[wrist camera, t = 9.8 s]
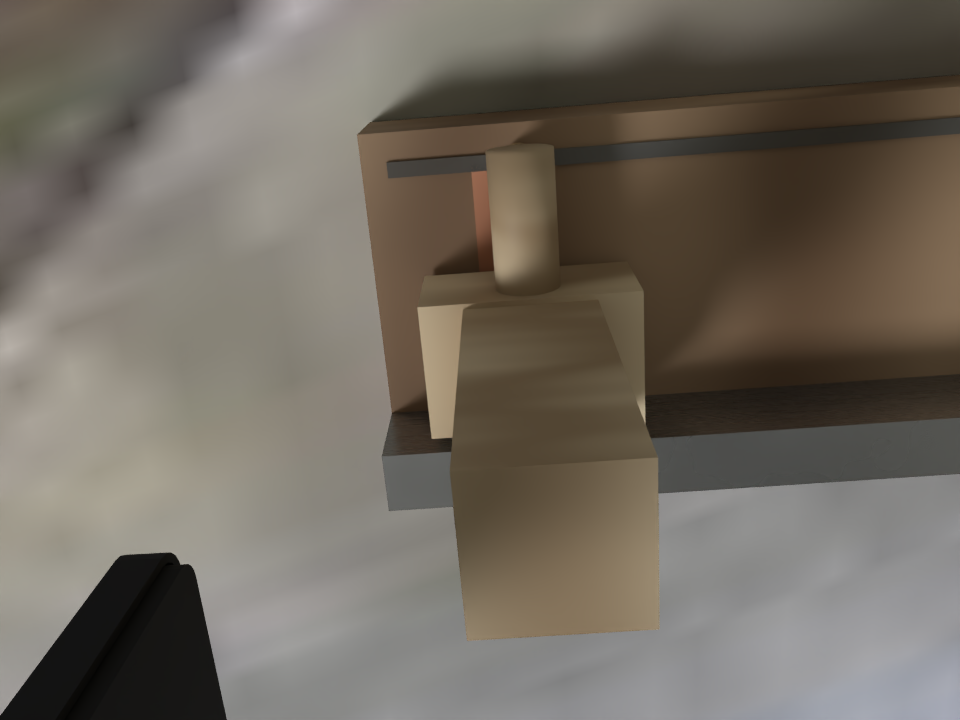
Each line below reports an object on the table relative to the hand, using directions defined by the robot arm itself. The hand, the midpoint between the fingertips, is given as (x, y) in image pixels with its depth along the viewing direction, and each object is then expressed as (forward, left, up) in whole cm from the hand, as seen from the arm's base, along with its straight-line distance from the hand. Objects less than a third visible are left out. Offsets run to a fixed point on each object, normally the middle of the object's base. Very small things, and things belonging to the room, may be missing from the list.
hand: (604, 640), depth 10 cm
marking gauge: (0, -2, -9) cm, 9 cm away
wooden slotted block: (-6, -1, -11) cm, 12 cm away
